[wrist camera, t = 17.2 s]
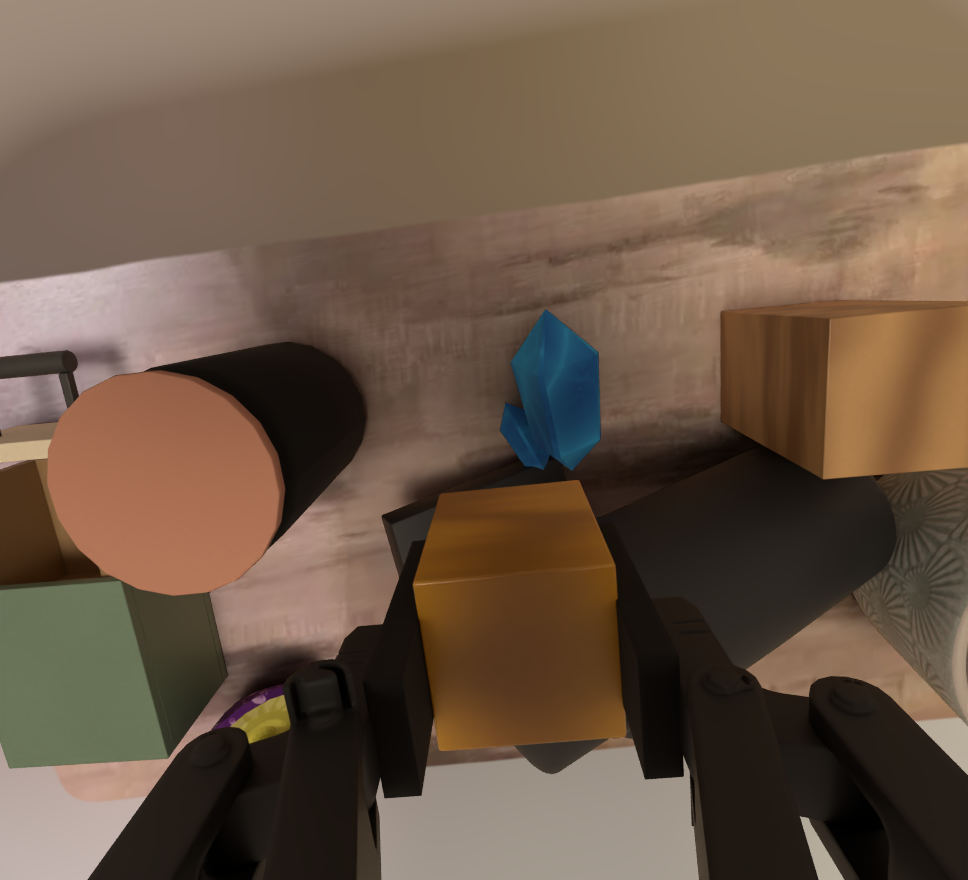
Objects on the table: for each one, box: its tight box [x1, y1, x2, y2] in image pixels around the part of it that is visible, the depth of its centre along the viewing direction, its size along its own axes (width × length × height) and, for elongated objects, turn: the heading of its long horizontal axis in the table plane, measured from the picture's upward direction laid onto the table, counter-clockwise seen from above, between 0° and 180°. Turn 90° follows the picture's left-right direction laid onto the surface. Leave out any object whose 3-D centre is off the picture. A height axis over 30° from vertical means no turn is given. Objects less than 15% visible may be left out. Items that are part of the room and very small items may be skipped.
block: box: [413, 480, 627, 751], centre depth 16 cm, size 4×4×6 cm
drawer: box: [0, 350, 113, 586], centre depth 41 cm, size 18×10×7 cm, turn 6°
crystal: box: [500, 309, 601, 471], centre depth 38 cm, size 7×9×12 cm
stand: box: [721, 300, 968, 479], centre depth 35 cm, size 8×8×14 cm
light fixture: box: [382, 445, 896, 774], centre depth 37 cm, size 13×18×26 cm
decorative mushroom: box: [212, 685, 290, 744], centre depth 44 cm, size 12×12×15 cm
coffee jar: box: [47, 342, 365, 596], centre depth 35 cm, size 11×11×18 cm
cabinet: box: [0, 577, 227, 768], centre depth 44 cm, size 14×12×9 cm
